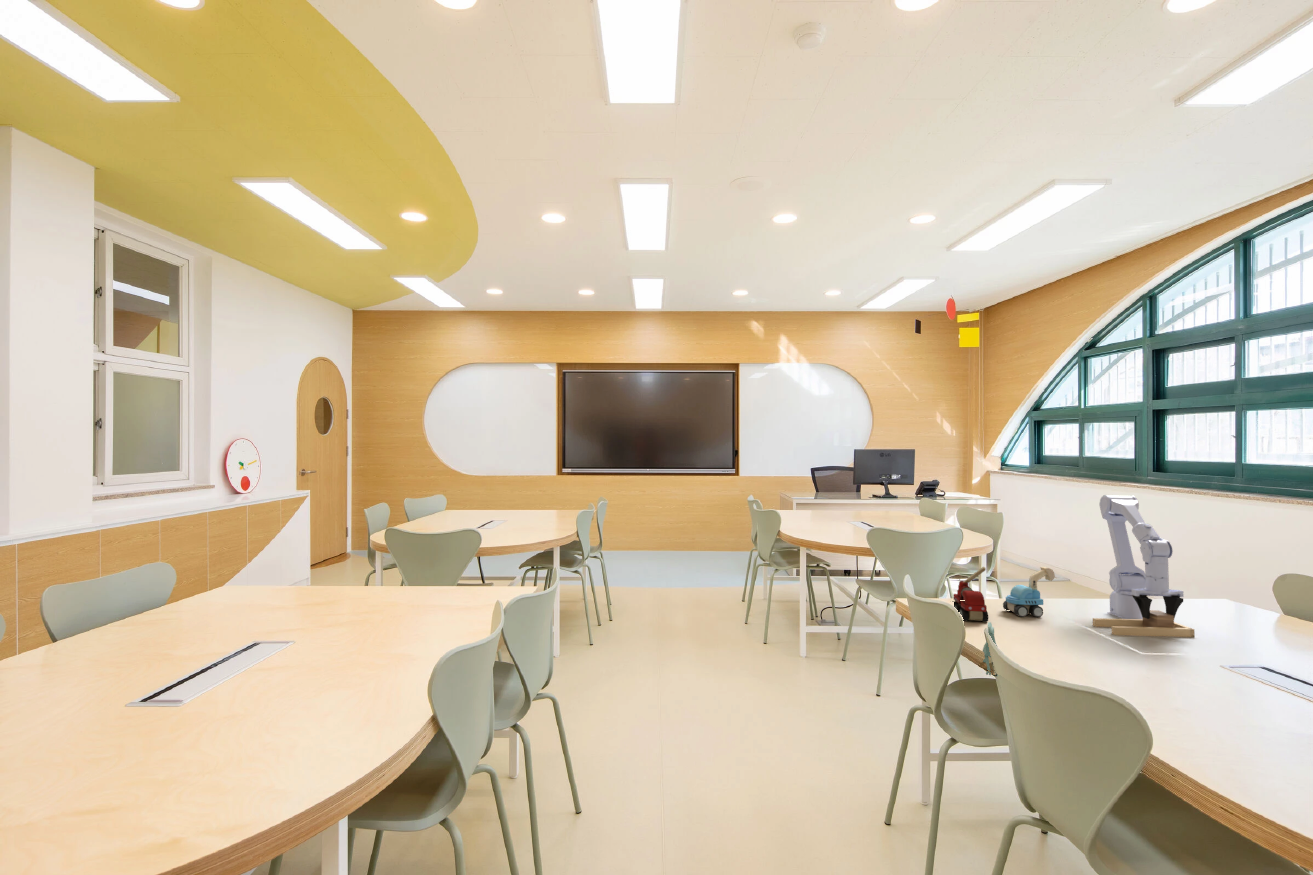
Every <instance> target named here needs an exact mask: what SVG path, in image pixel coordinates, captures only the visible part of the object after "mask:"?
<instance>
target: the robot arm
mask: <svg viewBox="0 0 1313 875" xmlns="http://www.w3.org/2000/svg"><path fill="white" fill-rule="evenodd" d="M1139 506H1140V504H1139V500H1138V498H1137V497H1136V496H1135V495H1109V494H1108V495H1107V494H1104V495H1102V496H1101V497H1100V499H1099V509H1100V513H1101V516H1102V519H1104V521H1106V522H1107V526H1108V531H1109V535H1110V540H1111V544H1112V549H1113V553H1114V557H1115V563H1116V566H1115V567H1113V568H1112V569H1110V570H1109V572H1108V574H1109V580H1108V581H1109V586H1110V588H1111V589H1112V590H1113V591H1112V592H1111V593H1110V595H1109V612H1107V614H1110V615H1112V616H1115V617H1118V618H1119V619H1143V618H1146V619H1149V618H1150V610H1151V604H1152V602H1153V599H1151V598H1149V597H1162V598H1163V601H1164V604H1165V613H1167V614H1170V615H1173V616H1174V619H1175V617H1176V615H1177V612H1178V610H1179V608H1180V607H1181V604H1182V603H1184V595H1185V594H1184V590H1181V589H1172V588H1171V589H1170V579H1169V576H1170V575H1169V559H1170V558H1172V556H1173V552H1174V550H1173V545H1172V544H1171V542H1170V541H1169V540H1168V539H1165V538H1162V537H1160V535H1159V533H1158V532H1157V531H1156V529H1155V528H1154V527H1153V525H1151V524H1150V523H1146V522H1145V520H1144V518H1143V516H1142V515H1141V513H1140V511H1139V508H1140V507H1139ZM1127 521H1128V523H1129V524H1130V526H1132V529H1131V533H1132V534H1133V535H1134V537H1135V538H1136V540H1137V541H1138V543H1139V544H1140V547H1139V550H1140V553H1141V557H1142V562H1144V570H1143V569H1142V568H1139V567H1138V566H1137V565H1135V560H1134V555H1133V552H1132V547H1131V543H1130V538H1129V535H1128V531H1127V525H1126V523H1127Z"/></svg>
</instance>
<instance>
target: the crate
mask: <svg viewBox="0 0 1313 875" xmlns="http://www.w3.org/2000/svg"><path fill="white" fill-rule="evenodd" d="M1174 622H1175V618H1174V616H1173V615H1170V614H1167V613H1166V612H1164V611H1161V610H1158V609H1157V610H1153V609H1150V618H1149V619H1146V618H1143V627H1167V628H1174Z"/></svg>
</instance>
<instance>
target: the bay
mask: <svg viewBox="0 0 1313 875" xmlns="http://www.w3.org/2000/svg"><path fill="white" fill-rule="evenodd" d="M1092 626H1093V627H1101V628H1102V627H1103V628H1104V627H1105V628H1111V635H1113V636H1133V637H1134V636H1137V637H1139V636H1141V637H1180V638H1181V637H1182V638H1195V629H1194V628H1192V627H1189V626H1187V625H1184V624H1181V623H1178V622H1175V621H1174V628H1167V627H1143V619H1123V618H1102V617H1101V618H1100V617H1099V618H1097V617H1092Z"/></svg>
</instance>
